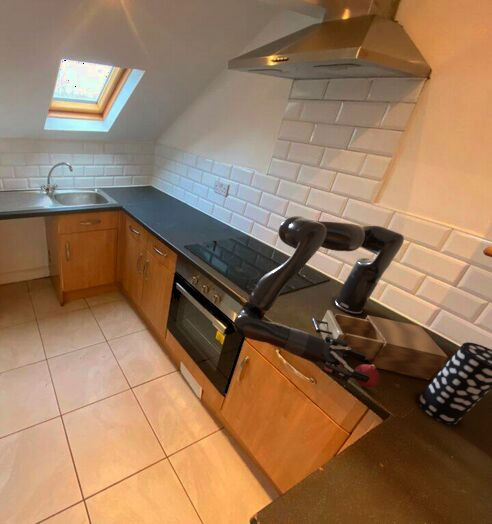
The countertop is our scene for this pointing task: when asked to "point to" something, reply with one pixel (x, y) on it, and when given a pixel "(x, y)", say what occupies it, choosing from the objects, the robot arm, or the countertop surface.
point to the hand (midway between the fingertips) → (366, 368)
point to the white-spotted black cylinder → (459, 384)
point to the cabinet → (406, 349)
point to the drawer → (350, 333)
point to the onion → (372, 374)
